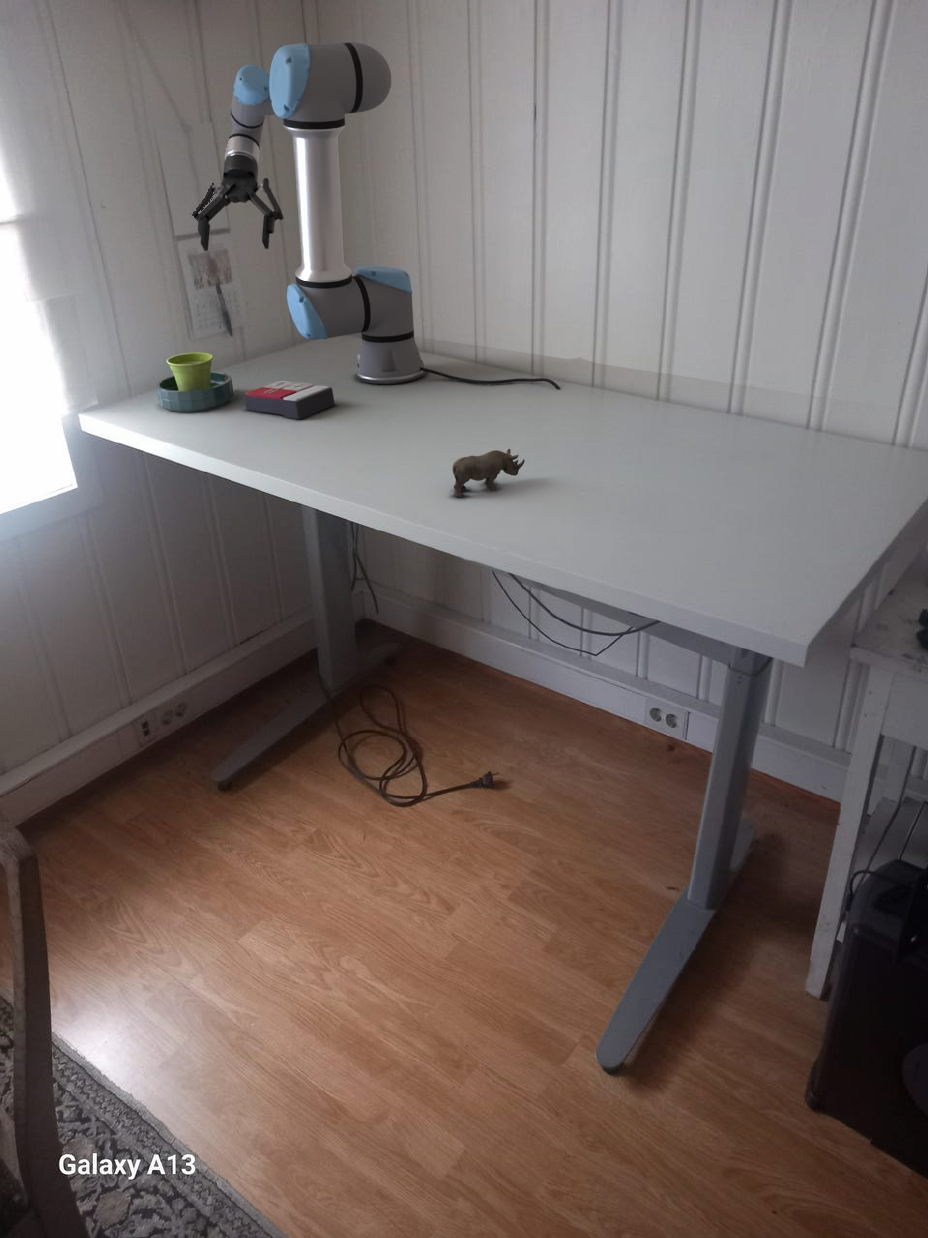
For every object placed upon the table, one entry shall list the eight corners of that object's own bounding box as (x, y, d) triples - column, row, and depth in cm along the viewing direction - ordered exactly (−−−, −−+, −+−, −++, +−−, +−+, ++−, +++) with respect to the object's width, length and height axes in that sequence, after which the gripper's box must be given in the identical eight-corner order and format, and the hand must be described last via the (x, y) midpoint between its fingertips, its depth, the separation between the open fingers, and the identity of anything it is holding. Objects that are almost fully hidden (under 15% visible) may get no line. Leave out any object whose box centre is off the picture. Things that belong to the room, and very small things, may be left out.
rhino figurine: (532, 481, 157) (532, 446, 155) (458, 500, 152) (456, 463, 149) (519, 474, 161) (518, 439, 158) (446, 491, 155) (444, 456, 152)
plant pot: (228, 393, 207) (221, 353, 203) (204, 406, 200) (196, 365, 195) (190, 391, 210) (183, 351, 206) (165, 404, 202) (157, 362, 198)
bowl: (249, 398, 206) (246, 377, 204) (191, 417, 196) (187, 395, 193) (203, 387, 214) (200, 367, 212) (145, 405, 204) (141, 384, 202)
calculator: (279, 378, 205) (332, 383, 197) (282, 398, 207) (335, 404, 199) (241, 392, 197) (296, 398, 189) (245, 412, 199) (299, 419, 191)
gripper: (300, 174, 220) (294, 254, 214) (192, 178, 221) (184, 258, 216) (292, 149, 212) (286, 232, 207) (181, 154, 214) (172, 236, 208)
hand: (234, 245), depth 211 cm, fingers open, 13 cm apart
